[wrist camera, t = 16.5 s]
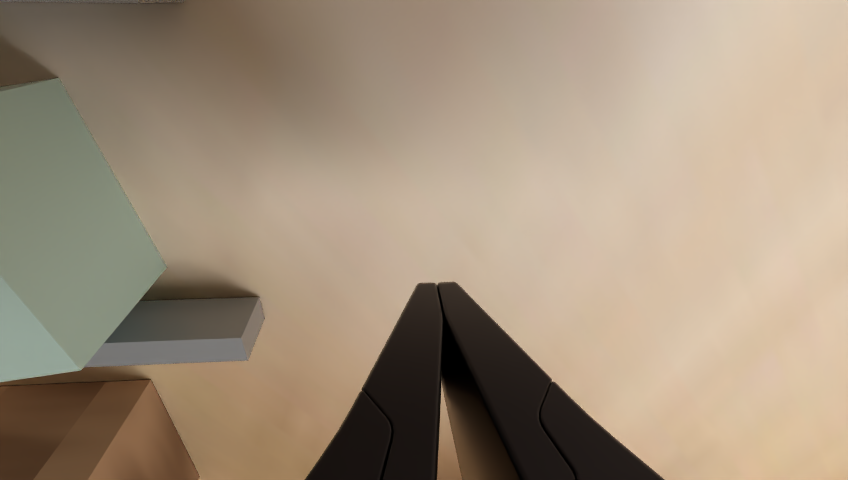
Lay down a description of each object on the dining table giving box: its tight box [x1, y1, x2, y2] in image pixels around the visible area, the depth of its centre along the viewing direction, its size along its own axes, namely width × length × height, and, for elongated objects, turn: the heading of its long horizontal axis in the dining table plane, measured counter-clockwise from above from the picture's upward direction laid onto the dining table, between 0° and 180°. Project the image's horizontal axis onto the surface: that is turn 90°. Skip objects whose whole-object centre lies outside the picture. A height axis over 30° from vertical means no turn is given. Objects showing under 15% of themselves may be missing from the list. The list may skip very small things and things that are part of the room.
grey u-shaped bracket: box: [0, 0, 265, 367], centre depth 11 cm, size 11×11×2 cm
